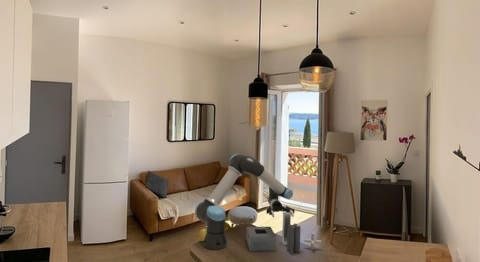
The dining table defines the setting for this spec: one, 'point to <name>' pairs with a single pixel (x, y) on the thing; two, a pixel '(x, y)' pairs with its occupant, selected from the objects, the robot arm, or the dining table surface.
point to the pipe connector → (312, 241)
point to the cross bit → (293, 238)
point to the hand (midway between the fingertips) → (283, 215)
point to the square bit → (285, 226)
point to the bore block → (261, 239)
